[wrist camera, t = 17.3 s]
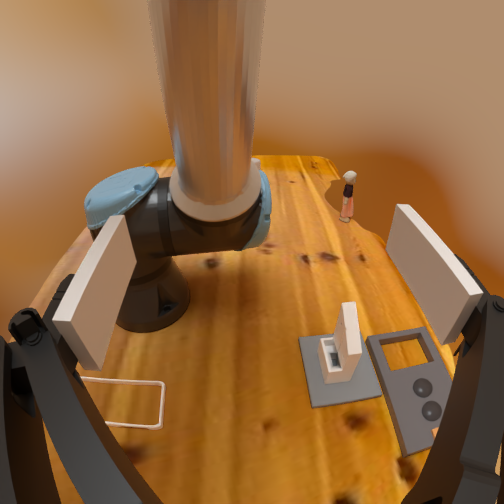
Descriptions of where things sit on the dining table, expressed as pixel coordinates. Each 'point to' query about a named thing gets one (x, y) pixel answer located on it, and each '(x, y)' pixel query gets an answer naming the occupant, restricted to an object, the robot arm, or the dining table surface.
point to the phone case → (135, 382)
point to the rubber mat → (341, 392)
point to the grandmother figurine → (348, 196)
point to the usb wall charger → (256, 162)
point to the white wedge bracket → (341, 347)
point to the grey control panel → (412, 390)
